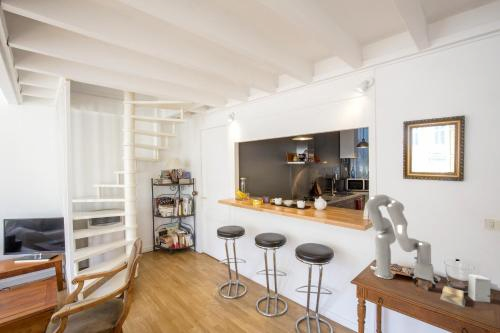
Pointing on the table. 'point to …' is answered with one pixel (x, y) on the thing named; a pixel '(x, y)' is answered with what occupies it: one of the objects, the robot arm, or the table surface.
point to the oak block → (453, 295)
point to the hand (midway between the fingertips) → (424, 286)
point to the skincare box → (479, 288)
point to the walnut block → (423, 284)
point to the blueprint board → (455, 303)
